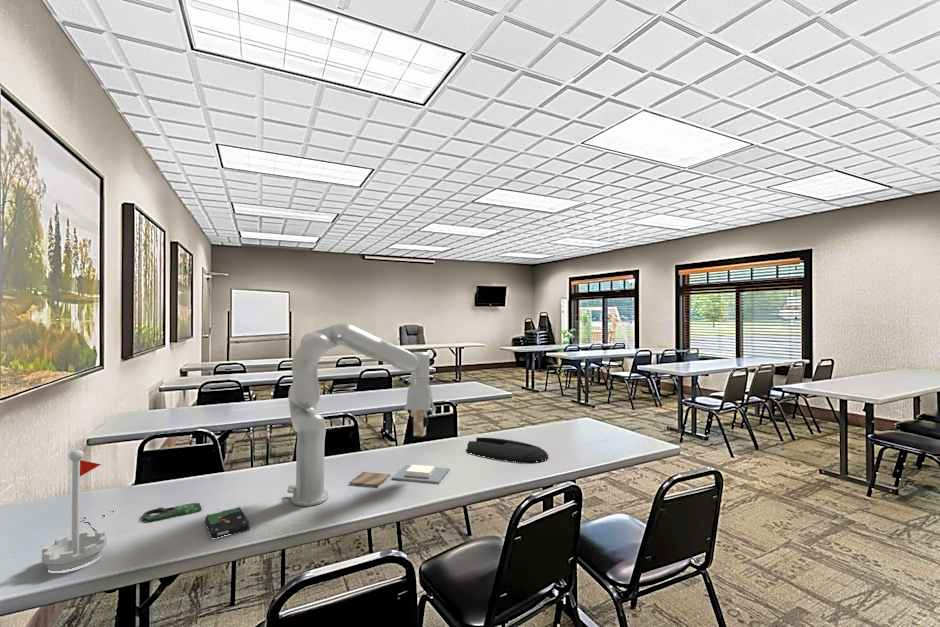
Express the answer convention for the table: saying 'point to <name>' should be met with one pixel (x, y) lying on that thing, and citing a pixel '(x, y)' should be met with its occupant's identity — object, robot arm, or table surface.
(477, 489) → the table surface
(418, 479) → the mat
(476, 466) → the table surface
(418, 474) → the tile
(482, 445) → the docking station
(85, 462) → the flag stand
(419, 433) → the block
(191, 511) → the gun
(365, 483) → the plate
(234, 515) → the disk drive
